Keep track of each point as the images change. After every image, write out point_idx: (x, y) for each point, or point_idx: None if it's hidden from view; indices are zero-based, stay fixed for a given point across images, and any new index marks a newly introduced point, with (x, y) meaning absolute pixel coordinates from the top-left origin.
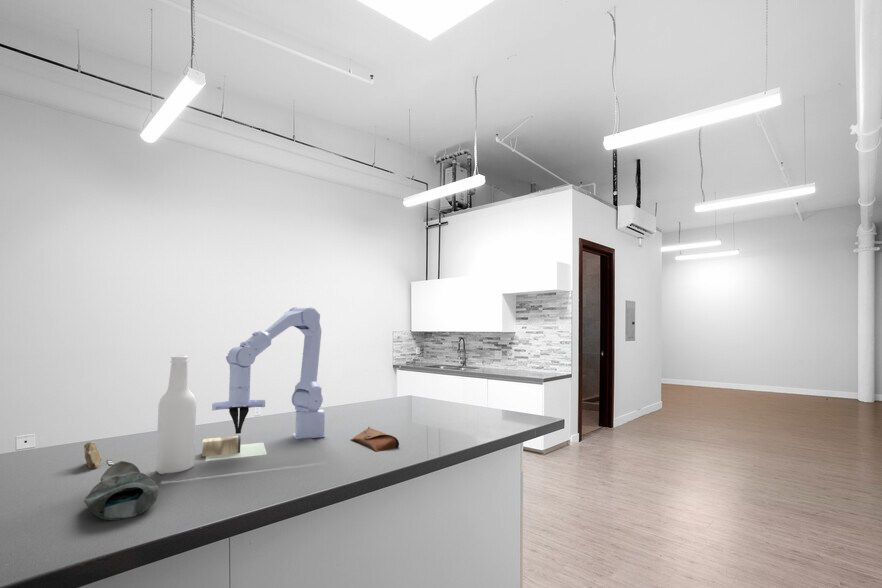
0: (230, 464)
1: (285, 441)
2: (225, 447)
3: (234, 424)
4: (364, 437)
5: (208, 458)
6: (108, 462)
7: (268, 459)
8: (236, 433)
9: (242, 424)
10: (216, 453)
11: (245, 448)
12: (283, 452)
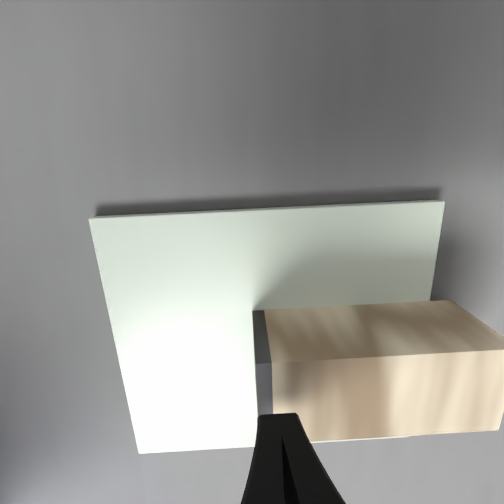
0: (303, 121)
1: (33, 464)
2: (343, 327)
3: (336, 492)
4: None
5: (423, 249)
6: None
7: (75, 149)
8: (292, 413)
9: (246, 490)
10: (381, 307)
11: (225, 377)
12: (4, 272)
